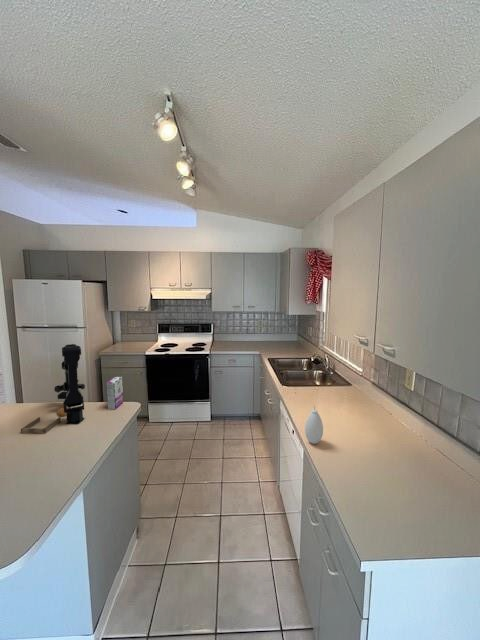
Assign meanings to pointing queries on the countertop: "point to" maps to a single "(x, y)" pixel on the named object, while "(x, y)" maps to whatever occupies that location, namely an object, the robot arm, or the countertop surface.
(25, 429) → the wooden bracket
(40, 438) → the countertop surface
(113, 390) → the candy bar box
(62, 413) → the pastry
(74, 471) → the countertop surface
